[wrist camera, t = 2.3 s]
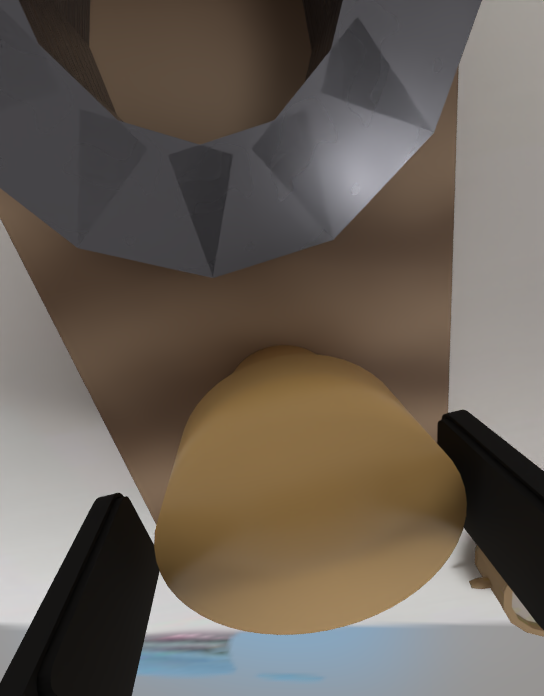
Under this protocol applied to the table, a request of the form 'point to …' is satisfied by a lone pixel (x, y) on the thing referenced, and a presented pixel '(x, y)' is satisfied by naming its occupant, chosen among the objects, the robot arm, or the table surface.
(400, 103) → the grey faceted ring
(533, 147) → the table surface
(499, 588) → the alarm clock
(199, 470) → the cap
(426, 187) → the mount
